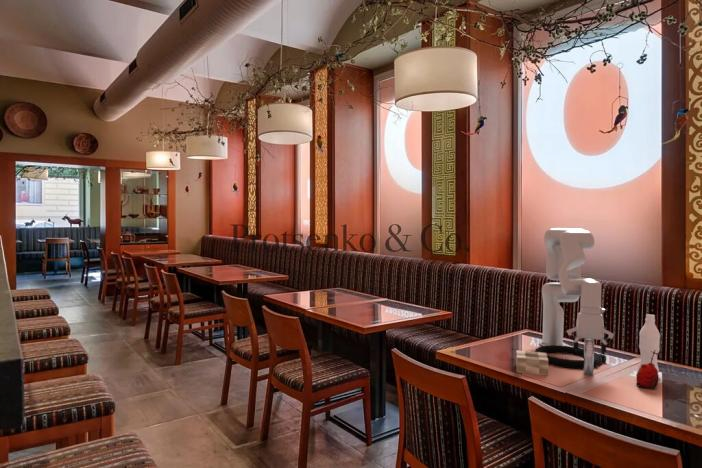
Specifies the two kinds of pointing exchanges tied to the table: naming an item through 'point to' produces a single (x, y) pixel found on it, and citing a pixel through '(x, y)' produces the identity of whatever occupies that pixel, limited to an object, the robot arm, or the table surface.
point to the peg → (588, 356)
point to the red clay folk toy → (647, 375)
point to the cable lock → (565, 362)
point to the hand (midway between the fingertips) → (589, 352)
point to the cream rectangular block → (531, 362)
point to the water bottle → (649, 341)
